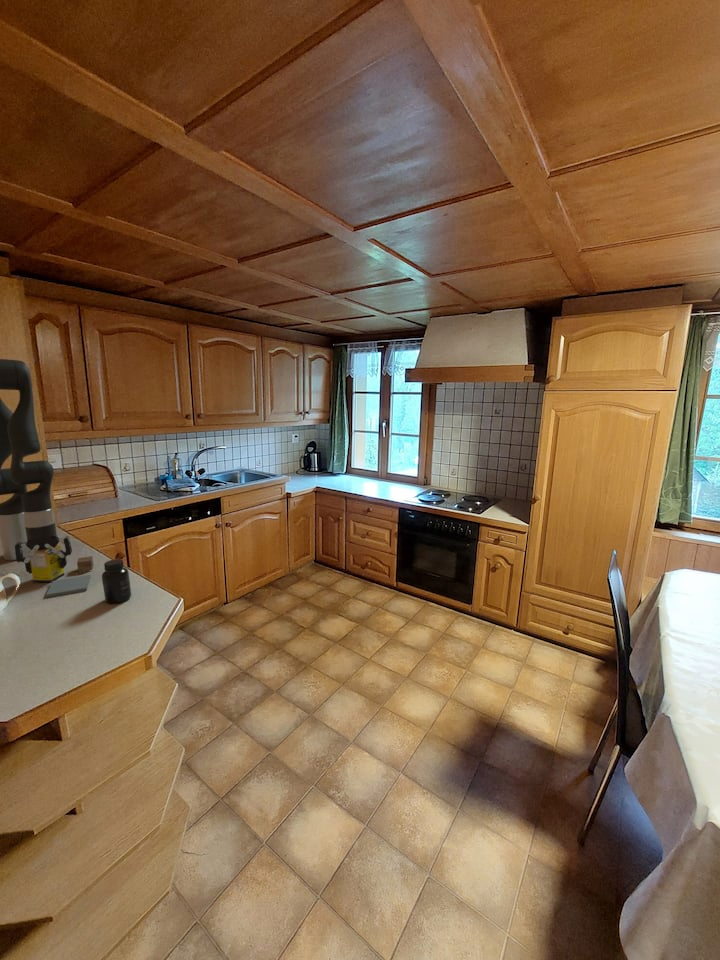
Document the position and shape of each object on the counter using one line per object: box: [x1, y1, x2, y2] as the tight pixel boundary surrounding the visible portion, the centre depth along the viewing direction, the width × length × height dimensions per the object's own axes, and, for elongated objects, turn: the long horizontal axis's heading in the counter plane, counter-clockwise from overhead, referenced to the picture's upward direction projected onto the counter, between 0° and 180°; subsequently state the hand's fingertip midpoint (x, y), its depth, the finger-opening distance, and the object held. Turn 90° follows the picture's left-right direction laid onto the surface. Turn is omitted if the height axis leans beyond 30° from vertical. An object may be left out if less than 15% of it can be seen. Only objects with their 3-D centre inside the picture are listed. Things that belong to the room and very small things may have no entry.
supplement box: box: [28, 544, 65, 583], centre depth 128 cm, size 6×6×11 cm
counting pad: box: [45, 574, 91, 598], centre depth 124 cm, size 10×10×1 cm
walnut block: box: [76, 555, 94, 573], centre depth 136 cm, size 4×4×4 cm
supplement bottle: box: [101, 558, 132, 605], centre depth 117 cm, size 7×7×12 cm
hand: (47, 569), depth 128 cm, fingers closed on supplement box, 8 cm apart
